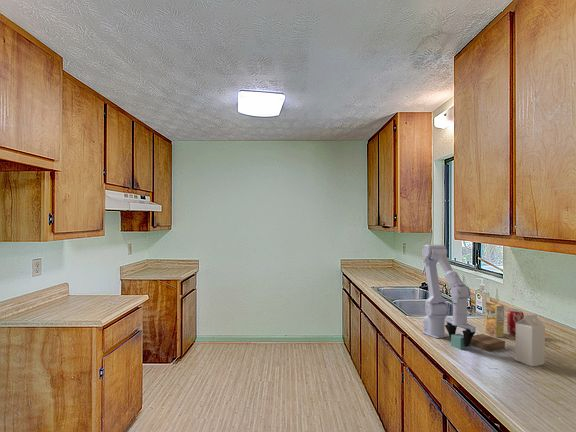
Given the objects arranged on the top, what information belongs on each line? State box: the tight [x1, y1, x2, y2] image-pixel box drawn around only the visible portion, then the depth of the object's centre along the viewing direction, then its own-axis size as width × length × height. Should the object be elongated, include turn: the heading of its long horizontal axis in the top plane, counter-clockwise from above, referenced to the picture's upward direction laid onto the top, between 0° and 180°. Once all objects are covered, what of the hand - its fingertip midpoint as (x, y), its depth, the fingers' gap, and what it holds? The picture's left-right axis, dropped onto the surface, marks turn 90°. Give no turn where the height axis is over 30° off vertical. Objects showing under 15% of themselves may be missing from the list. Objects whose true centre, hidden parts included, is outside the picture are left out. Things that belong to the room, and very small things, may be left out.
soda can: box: [506, 308, 524, 337], centre depth 185 cm, size 7×7×12 cm
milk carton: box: [514, 313, 546, 367], centre depth 149 cm, size 7×7×19 cm
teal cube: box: [450, 333, 469, 350], centre depth 166 cm, size 5×5×5 cm
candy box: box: [484, 301, 505, 338], centre depth 185 cm, size 9×4×15 cm, turn 6°
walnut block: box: [469, 333, 506, 352], centre depth 168 cm, size 11×11×4 cm
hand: (459, 343), depth 166 cm, fingers open, 7 cm apart
